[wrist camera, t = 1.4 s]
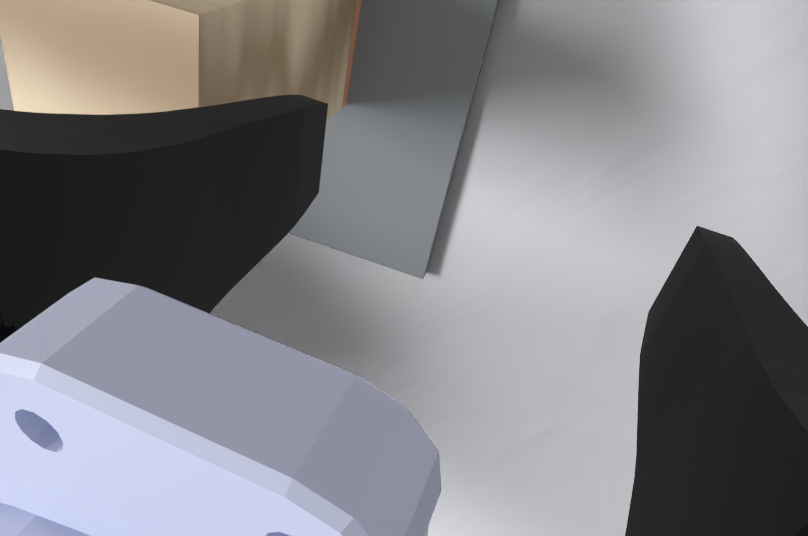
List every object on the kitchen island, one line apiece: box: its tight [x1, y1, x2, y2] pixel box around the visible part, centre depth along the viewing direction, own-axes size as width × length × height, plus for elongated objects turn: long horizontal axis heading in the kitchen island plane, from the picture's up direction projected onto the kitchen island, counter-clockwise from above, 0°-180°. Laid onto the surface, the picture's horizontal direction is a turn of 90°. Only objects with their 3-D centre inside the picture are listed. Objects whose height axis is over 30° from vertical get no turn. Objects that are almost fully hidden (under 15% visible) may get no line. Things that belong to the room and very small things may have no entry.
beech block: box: [0, 0, 362, 121], centre depth 18 cm, size 5×5×10 cm
